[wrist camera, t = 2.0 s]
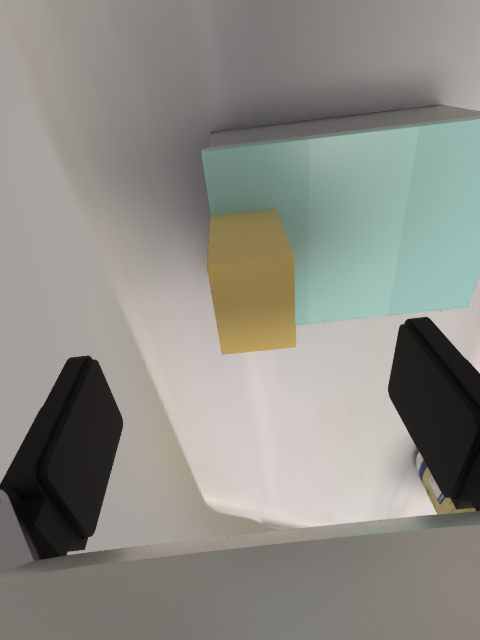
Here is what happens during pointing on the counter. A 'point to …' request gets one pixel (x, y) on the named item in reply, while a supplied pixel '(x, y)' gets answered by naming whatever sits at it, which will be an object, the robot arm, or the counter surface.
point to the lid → (341, 228)
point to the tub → (338, 124)
